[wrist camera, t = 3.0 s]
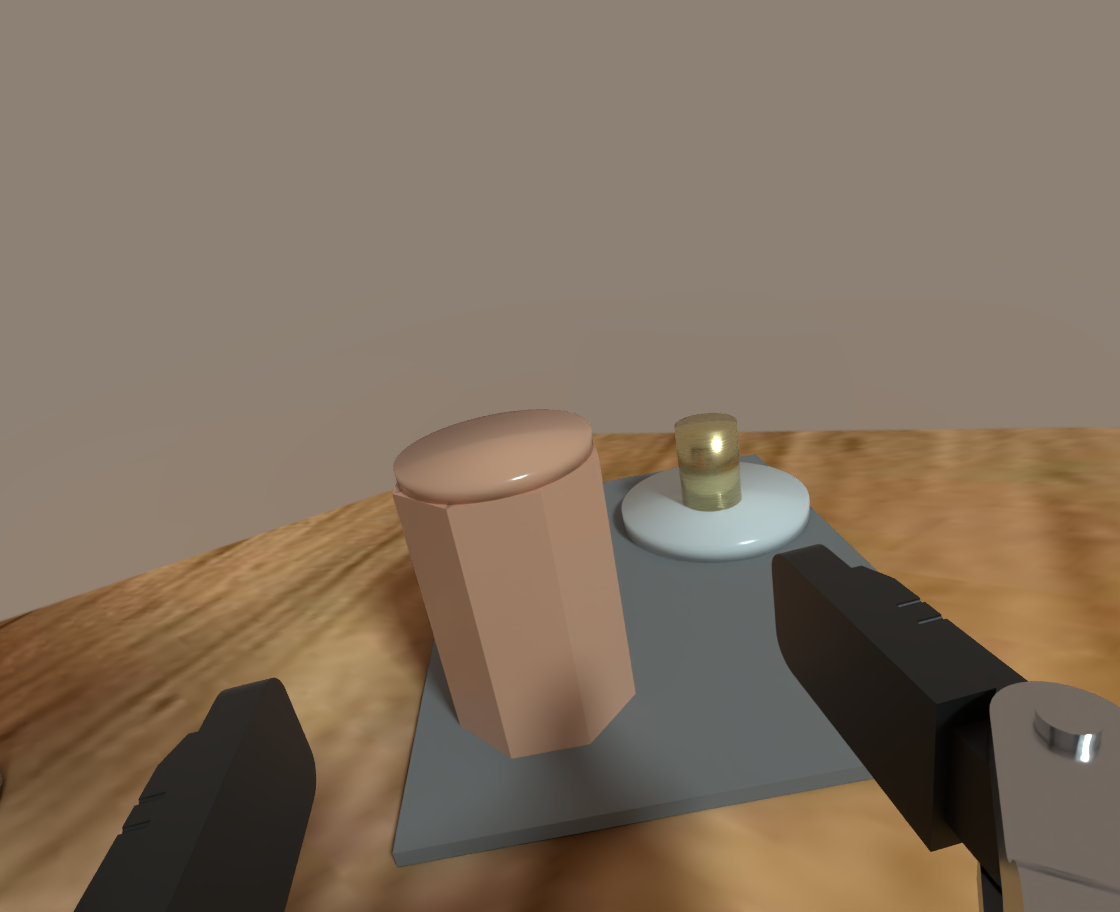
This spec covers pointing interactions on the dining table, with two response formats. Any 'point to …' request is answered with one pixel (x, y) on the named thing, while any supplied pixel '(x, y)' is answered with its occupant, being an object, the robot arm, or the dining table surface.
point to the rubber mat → (642, 717)
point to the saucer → (717, 517)
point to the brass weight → (708, 461)
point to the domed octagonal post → (518, 576)
